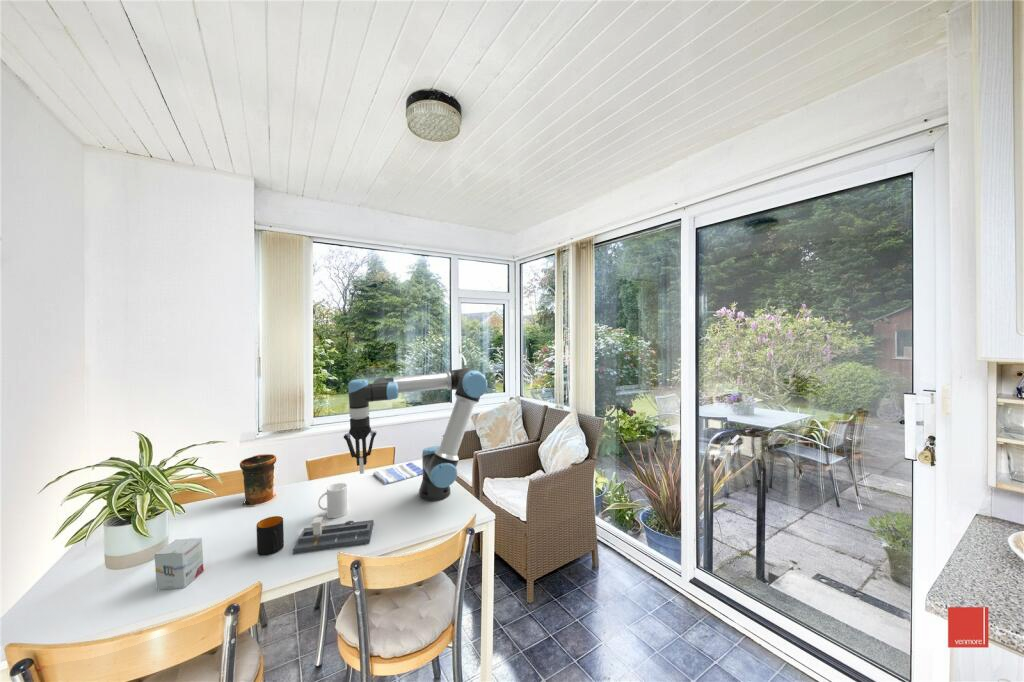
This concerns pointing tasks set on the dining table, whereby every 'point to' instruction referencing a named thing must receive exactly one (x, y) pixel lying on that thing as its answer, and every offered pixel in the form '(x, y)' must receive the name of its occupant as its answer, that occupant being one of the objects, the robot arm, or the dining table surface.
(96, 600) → the dining table surface
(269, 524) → the mug
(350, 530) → the console
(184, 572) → the ink box
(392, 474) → the dish towel
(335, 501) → the mug
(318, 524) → the fader
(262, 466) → the vessel
